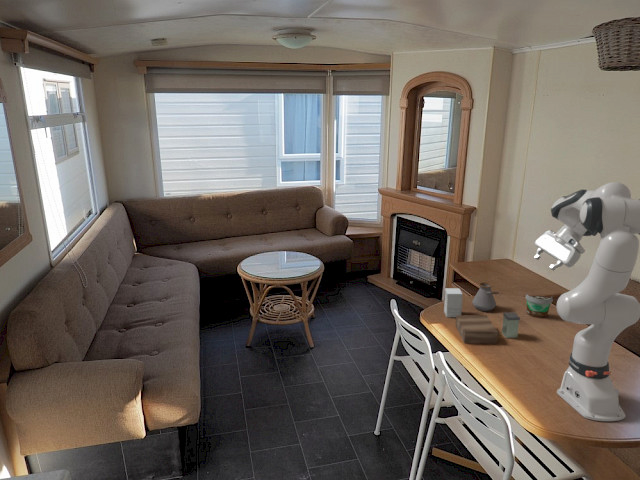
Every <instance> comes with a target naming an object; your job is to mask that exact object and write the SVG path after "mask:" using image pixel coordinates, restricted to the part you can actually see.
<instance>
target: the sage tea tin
mask: <svg viewBox="0 0 640 480" xmlns="http://www.w3.org/2000/svg"><path fill="white" fill-rule="evenodd" d="M502 315H503V319H502V328H501V333H502V335H503V336H504V337H505V339H517V338H518V334H519V324H520V319H521V317H520V316H519V315H518V314H517V313H516V312H503V314H502Z"/></svg>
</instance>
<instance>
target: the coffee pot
mask: <svg viewBox="0 0 640 480" xmlns="http://www.w3.org/2000/svg"><path fill="white" fill-rule="evenodd" d="M478 287H479V289H478V291H477V292H476V294H475V296H474V298H473V299H472V304H473V307H475V309H476V308H477V309H476V310H477V311H481V312H490V311H491V310H493V309H495V307H496V306H497V302H496V300H495V297H494V295H496V298H497V297H500V295H501V293H500V292H498V291H492V288H493V284H492V283H490V282H480V283H478ZM498 294H499V296H497V295H498Z"/></svg>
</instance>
